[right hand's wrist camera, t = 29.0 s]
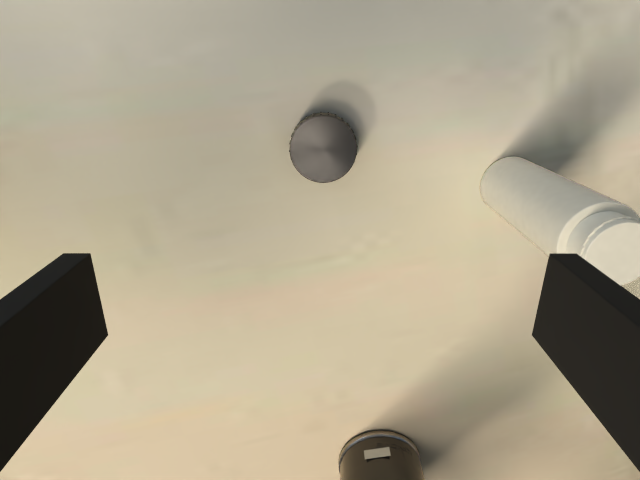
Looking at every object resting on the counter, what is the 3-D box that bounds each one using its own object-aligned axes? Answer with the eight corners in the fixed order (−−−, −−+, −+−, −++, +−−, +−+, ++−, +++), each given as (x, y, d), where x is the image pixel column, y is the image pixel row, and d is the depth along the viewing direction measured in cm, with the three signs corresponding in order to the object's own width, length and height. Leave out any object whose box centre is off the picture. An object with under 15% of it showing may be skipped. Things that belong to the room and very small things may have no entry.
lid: (344, 184, 38) (346, 191, 36) (284, 167, 37) (281, 173, 35) (363, 122, 36) (366, 125, 34) (299, 103, 35) (298, 106, 33)
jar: (506, 144, 37) (624, 195, 22) (548, 176, 38) (687, 243, 23) (467, 192, 38) (555, 267, 24) (509, 221, 39) (618, 310, 25)
